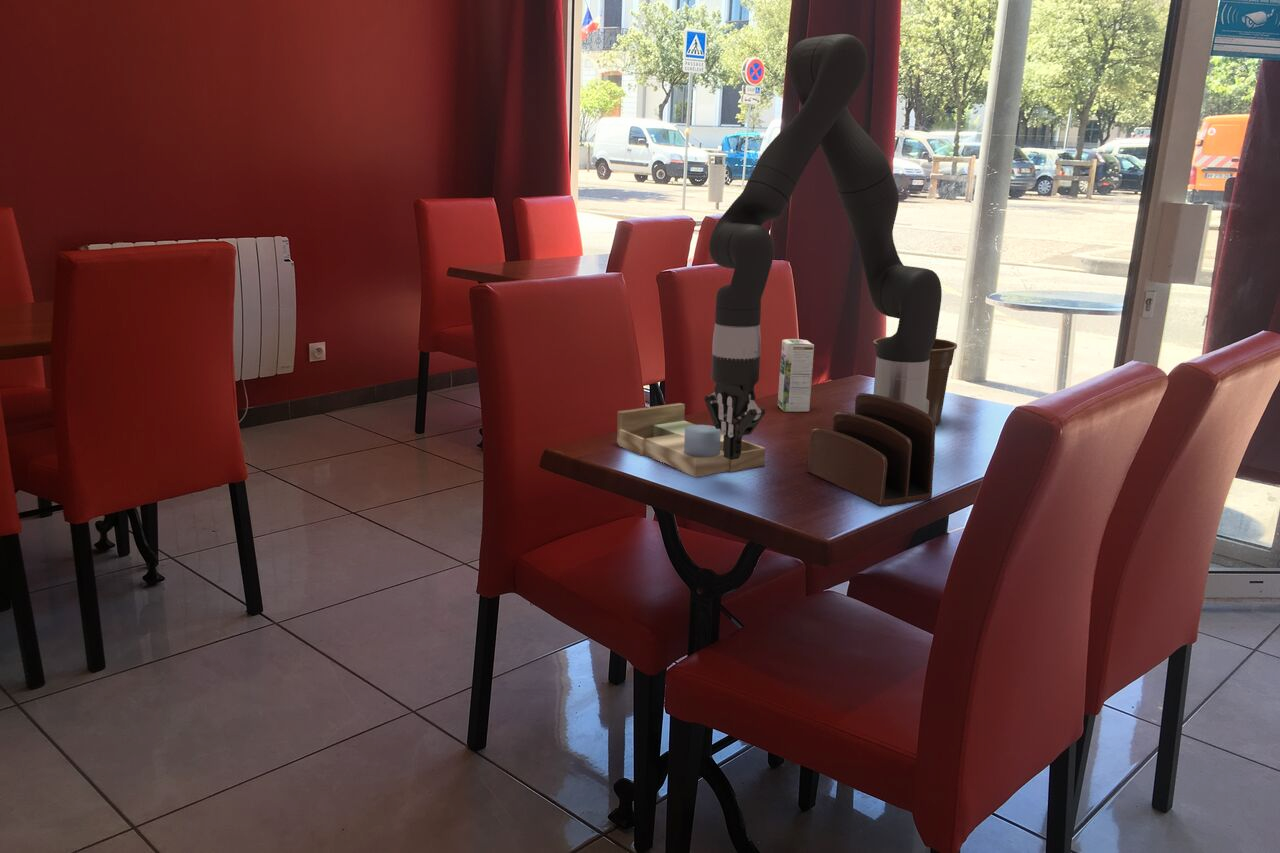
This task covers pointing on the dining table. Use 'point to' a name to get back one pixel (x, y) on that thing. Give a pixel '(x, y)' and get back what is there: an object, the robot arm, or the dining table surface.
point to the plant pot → (936, 374)
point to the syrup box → (795, 375)
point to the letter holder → (877, 451)
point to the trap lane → (677, 441)
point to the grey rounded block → (702, 441)
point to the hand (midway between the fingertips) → (731, 458)
